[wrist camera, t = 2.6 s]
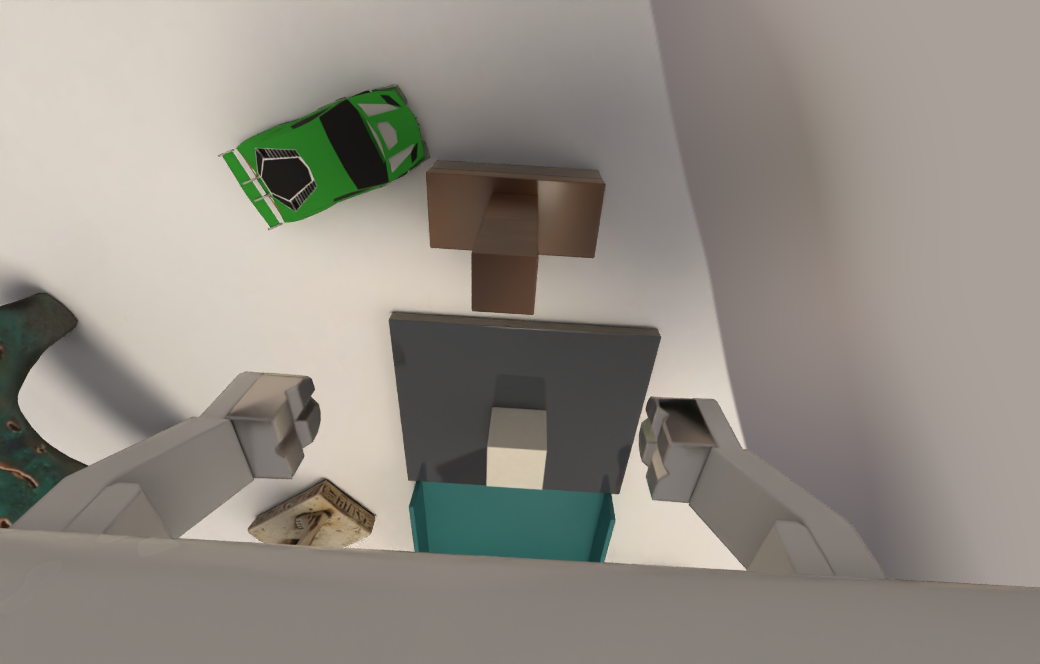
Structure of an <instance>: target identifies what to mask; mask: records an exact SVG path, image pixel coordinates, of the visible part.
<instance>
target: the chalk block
mask: <svg viewBox="0 0 1040 664" xmlns="http://www.w3.org/2000/svg"><path fill="white" fill-rule="evenodd" d="M546 454H547V430H546V410H532V409H517V408H501V407H493V408H492V414H491V422H490V429H489V437H488V445H487V482H486V485H487V486H493V487H509V488H524V489H540V490H542V487H543V479H544V471H545V463H546Z"/></svg>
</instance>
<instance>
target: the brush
mask: <svg viewBox="0 0 1040 664" xmlns="http://www.w3.org/2000/svg"><path fill="white" fill-rule="evenodd" d="M426 181H427V199H428V216H429V233H430V247H431V248H443V249H459V250H473V251H472V254H471V269H472V311H479V312H495V313H510V314H526V315H533V314H534V306H535V293H536V281H537V269H538V255H553V256H568V257H584V258H594V256H595V250H596V243H597V237H598V230H599V224H600V217H601V211H602V204H603V198H604V191H605V182H604V180H603V178H602V176H601V174H600V172H599V171H598V170H584V169H568V168H553V167H537V166H521V165H506V164H490V163H474V162H459V161H443V160H437V161H436V163H435V164H434V165H433V166H432V167H431V168H430V169H429V170H428V171H427V172H426Z"/></svg>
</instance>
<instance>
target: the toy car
mask: <svg viewBox="0 0 1040 664" xmlns="http://www.w3.org/2000/svg"><path fill="white" fill-rule="evenodd" d="M319 109H320V110H319ZM319 109H318V110H317V111H315V112H313V113H311V114H309V115H307V116H305V117H303V118H301V119H298V120H294V121H290V122H287V123H283V124H280V125H279V126H276V127H274V128H271V129H269V130H267V131H264V132H262V133H259V134H257V135H255V136H253V137H251V138H249V139H247V140H245V141H244V142H242V143H241V144H240V145H239V146H238V147H237V148H236V149H237V150H238V151H239V152H240V153H241V155H242V156H243V157H244V159H245V160H246V162H247V163H248V165H249V166H250V168H251V169H252V171H253V173H254V174H255V176H256V177H255V178H253V179H250V178H249V176H248V174H247V173H246V171H245V170H244V168H243V167H242V165H241V164H240V162H239V161H238V159H237V158H236V156H235V155H234V153H233V152H232V151H234V149H232V150H230V151H227V152H225V153H222V154H220V155H218V156H219V157H220V156H223V158H224V159H225V161H226V163H227V164H228V166H229V167H230V169H231V171H232V172H233V174H234V176H235V177H236V179H237V181H238V182H239V184H240V185H241V187H242V189H243V190H244V192H245V193H246V195H247V196H248V198H249V199H250V200H251V202H252V203H253V204H254V206H255V207H256V208H257V210H258V211H259V213H260V214H261V215H262V217H263V218H264V219H265V221H266V222H267V223H268V225H269V226H270V228H269V229H268V230H271V229H273V228H275V227H278V226H280V225H282V224H283V223H279V222H278V220H277V219H276V217H275V215H274V214H273V212H272V211H271V209H270V208H269V206H268V205H267V203H266V202H265V200H264V199H263V198H265V197H268V196H269V198H270V199H271V200H272V202H273V203H274V205H275V206H276V208H277V209H278V211H279V213H280V214H281V216H282V218H283V220H284V222H294V221H298V220H302V219H304V218H307V217H309V216H312V215H314V214H316V213H319V212H321V211H323V210H325V209H327V208H329V207H331V206H333V205H334V204H336V203H338V202H341V201H343V200H346V199H349V198H351V197H354V196H357V195H360V194H362V193H365V192H368V191H370V190H373V189H376V188H378V187H383V186H385V185H386V184H387V183H389V182H391V181H393V180H395V179H397V178H400V177H402V176H403V175H405V174H407V173H408V170H409V171H410V170H412V169H413V168H415V167H417V166H418V165H420V164H421V163H423V162H424V161H425V160H427V159H428V158H430V157H429V154H428V150H427V147H426V144H425V142H424V141H423V140H422V139H421V135H420V130H419V126H418V125H419V124H417V122H416V118H415V117H414V115H413V114H412V113H411V111H410V110H409V108H408V107H407V100H406V99H405V97H404V95H403V93H402V92H401V90H400V88H399V87H398V85H395V86H390V87H385V88H380V89H374V90H372V92H370V91H365V92H362V93H359V94H357V95H355V96H352V97H350V98H346V97H343V98H340V99H337V100H336V101H335V102H332V103H330V104H328V105H326V106H323V107H321V108H319ZM363 110H364V111H363ZM389 160H390V161H389ZM256 179H257V180H258V182H259V183H260V185H261V186H262V188H263V189H264V191H265V192H266V195H264V196H263V197H262V196H261V194H260V193H259V191H258V190H257V188H256V187H255V185H254V184H253V182H252V181H254V180H256Z"/></svg>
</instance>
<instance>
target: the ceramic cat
mask: <svg viewBox="0 0 1040 664" xmlns="http://www.w3.org/2000/svg"><path fill="white" fill-rule="evenodd" d="M76 325H77V320H76V319H75V318H74V316H73V315H72V313H71V312H70V311H69V310H68V309H66V308H65V307H64V306H62V305H61V304H60V303H58V302H57V301H56V300H55V299H53V298H52V297H50V296H49V295H47V294H46V293H38V294H35V295H32V296H30V297H27V298H24V299H22V300H19V301H16V302H13V303H10V304H6V305H3V306H0V528H6V529H8V528H9V527H10V526H11V525H13V524H14V523H15V522H16V521H17V520H18V519H19V518H20V517H21V516H23V515H24V514H25V513H26V512H27V511H28V510H29V509H30V508H31V507H33V506H34V505H35V504H36V503H37V502H38V501H39V500H40V499H41V498H42V497H44V496H45V495H46V494H47V493H48V492H49V491H50V490H51V489H52V488H54V487H55V486H56V485H57V484H58V483H59V482H60V481H61V480H62V479H64V478H65V477H66V476H69V475H71V474H73V473H75V472H77V471H79V470H81V469H83V468H85V467H88V465H86V464H83V463H81V462H79V461H77V460H75V459H72V458H70V457H69V456H67V455H65V454H63V453H62V452H60V451H59V450H57V449H56V448H54V447H53V446H51V445H50V444H48V443H47V442H46V441H45V440H44V439H42V438H41V437H40V435H39V434H38V433H37V432H36V431H35V430H34V429H33V428H32V427H31V425H30V424H29V422H28V421H27V420H26V418H25V417H24V415H23V414H22V412H21V411H20V408H19V405H18V393H19V390H20V388H21V387H22V385H23V383H24V381H25V378H26V376H27V374H28V372H29V371H30V369H31V368H32V367H33V365H34V364H35V363H36V362H37V361H38V359H39V358H40V356H41V355H42V354H43V353H44V352H45V350H46V349H47V348H48V347H50V346H51V345H52V344H54V343H55V342H56V341H58V340H59V339H61V338H62V337H64V336H65V335H67V334H68V333H69V332H71V331H72V330H73V329H74V328H75V327H76Z"/></svg>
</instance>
